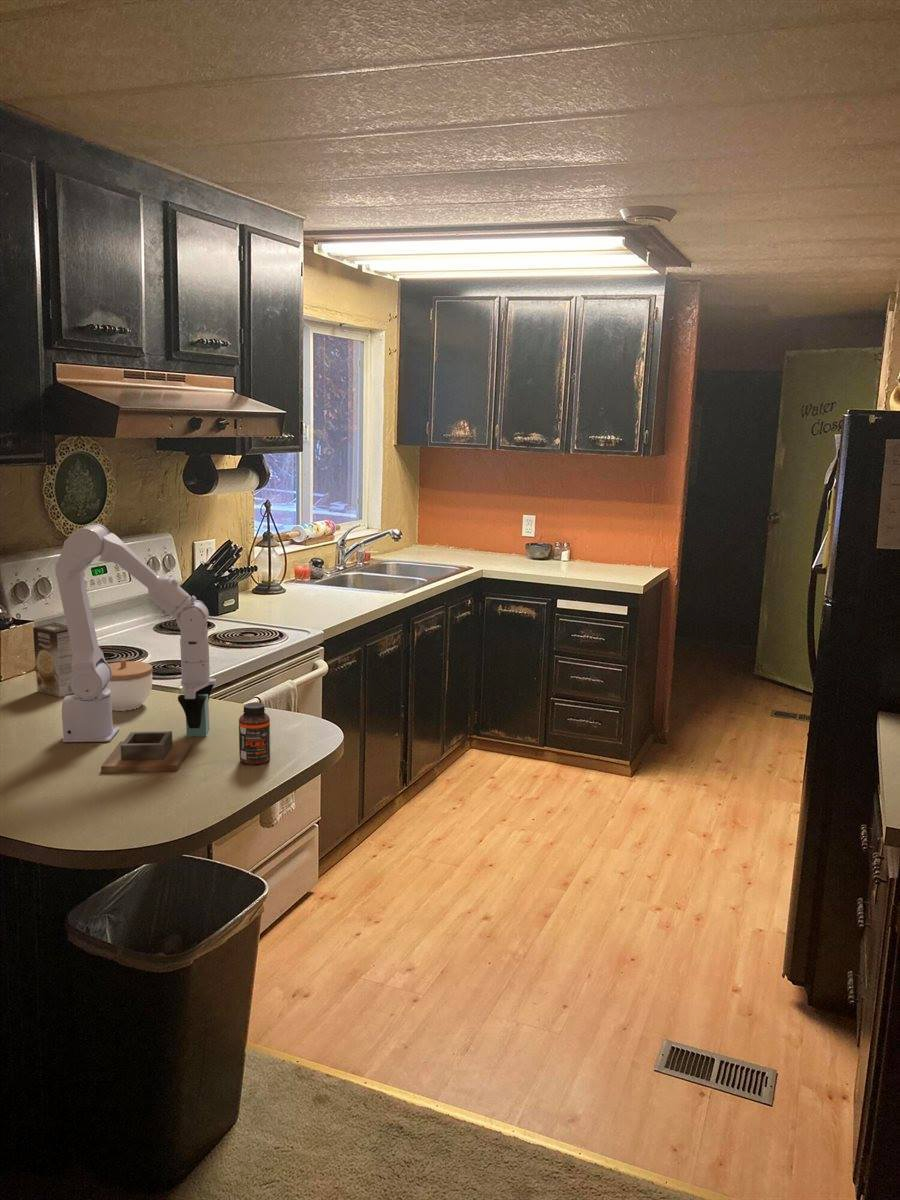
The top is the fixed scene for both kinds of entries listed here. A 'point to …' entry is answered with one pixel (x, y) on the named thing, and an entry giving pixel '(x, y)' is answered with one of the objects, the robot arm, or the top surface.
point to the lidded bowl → (129, 684)
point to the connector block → (204, 721)
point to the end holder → (147, 753)
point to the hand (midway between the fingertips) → (197, 722)
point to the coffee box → (53, 659)
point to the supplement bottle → (254, 734)
